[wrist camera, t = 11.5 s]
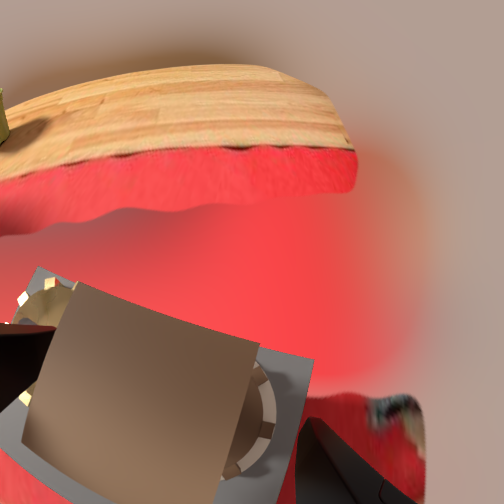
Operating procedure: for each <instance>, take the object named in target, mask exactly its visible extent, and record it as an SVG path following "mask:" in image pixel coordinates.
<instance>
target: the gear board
mask: <svg viewBox="0 0 504 504" xmlns="http://www.w3.org/2000/svg"><path fill="white" fill-rule="evenodd" d="M53 277H56V278H57V279H58V280H59V281H60V282H61V283H62V284H63V285H64V287H66V288H69V289H72V288H73V287H74V285H75V283H74V282H72V281H70V280H67V279H65V278H63V277H61V276H59V275H56V274H54V273H52V272H50V271H48V270H46V269H44V268H42V267H40V266H38V267H37V269H36V271H35V273H34V275H33V276H32V279H31V280H30V282H29V285H28V286H27V289H26V292H27V293H28V294H29V295H33V294H34V293H36V292H38V291H40V290H42V289H44V286H45V279H48V278H53ZM20 307H21V306H20V304H19V306H18V308H17V310H16V312H15V315H16V313H17V311H18V310H19V308H20ZM15 315H14V317H15ZM14 317H13V319H14ZM12 322H13V320H12ZM12 322H11V324H12ZM313 364H314V359H309V358H304V357H300V356H296V355H291V354H287V353H283V352H279V351H275V350H271V349H266V348H262V347H259V349H258V353H257V356H256V360H255V364H254V367H253V369H254V368H256V367H258V366H260V367H261V369H262V370H263V372H264V373H265V375H266V377H267V378H268V381H266V382H265V383H263V384H261V385H260V386H258V389H259V391H260V394H261V398H262V403H263V421H267V422H271V423H275V427H274V431H273V434H272V438H271V440H270V439H265V438H261V437H258V438H257V440H256V442H255V444H254V446H253V447H252V448H251V450H250V451H249V452H248V453H247V454H246V455H245V456H244V457H243V458H242V459H241V460H239V461H238V462H237V464H238V466H239V467H240V468H241V473H242V474H240V475H238V476H236V477H233V478H231V479H229V480H227V481H226V480H225V479H224V478H223V476H221V479H220V482H219V485H218V488H217V491H216V494H215V497H214V500H213V503H212V504H276V502H277V499H278V496H279V493H280V490H281V487H282V484H283V481H284V477H285V474H286V471H287V468H288V464H289V461H290V458H291V454H292V451H293V447H294V443H295V440H296V436H297V432H298V429H299V425H300V421H301V417H302V413H303V409H304V405H305V400H306V396H307V392H308V387H309V383H310V378H311V374H312V369H313ZM28 410H29V407H27V406H26V405H25V404H24V403H23V402H22V401H21V400H20V399H19V397H18V398H17V399H15V400H14V401H13V402H12V403H11V404H10V405H9V406H8V407H7V408H6V409H4V410H3V411H2V412H1V413H0V448H1V449H2V450H3V451H4V452H5V453H6V454H8V455H9V456H10V457H11V458H12V459H13V460H14V461H16V462H17V463H18V464H19V465H20V466H21V467H23V468H24V469H25V470H26V471H28V472H29V473H30V474H31V475H33V476H34V477H35V478H37V479H38V480H39V481H41V482H42V483H43V484H45V485H46V486H47V487H49V488H50V489H52V490H53V491H55V492H56V493H58V494H59V495H61V496H62V497H64V498H65V499H67V500H68V501H70V502H72V503H73V504H117V503H114V502H112V501H110V500H108V499H106V498H104V497H103V496H101V495H99V494H97V493H95V492H93V491H91V490H90V489H88V488H86V487H84V486H83V485H81V484H79V483H78V482H76V481H74V480H73V479H71V478H69V477H68V476H66V475H65V474H63V473H62V472H60V471H59V470H57V469H56V468H54V467H53V466H51V465H50V464H49V463H47V462H46V461H44V460H43V459H42V458H40V457H39V456H38V455H36V454H35V453H34V452H32V451H31V450H30V449H29V448H27V447H26V446H25V445H24V444H22V443H21V439H22V434H23V430H24V426H25V422H26V418H27V414H28Z"/></svg>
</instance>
